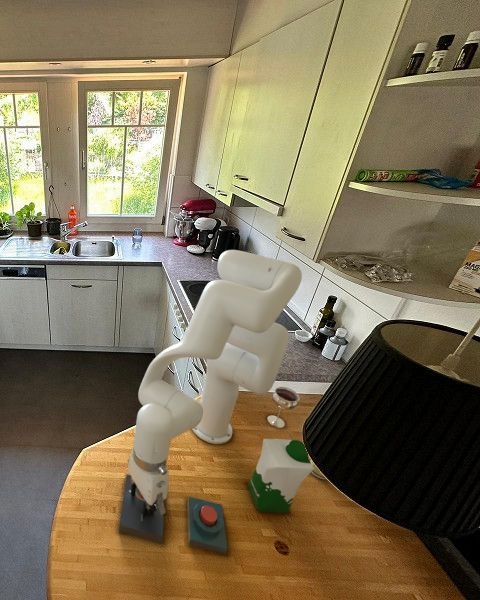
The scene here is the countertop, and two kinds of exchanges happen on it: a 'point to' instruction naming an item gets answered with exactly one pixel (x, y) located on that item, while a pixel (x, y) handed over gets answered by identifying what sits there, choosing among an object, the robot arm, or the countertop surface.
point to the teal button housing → (206, 527)
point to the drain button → (208, 515)
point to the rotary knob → (139, 500)
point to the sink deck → (139, 518)
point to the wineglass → (283, 404)
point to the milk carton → (279, 474)
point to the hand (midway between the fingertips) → (142, 502)
